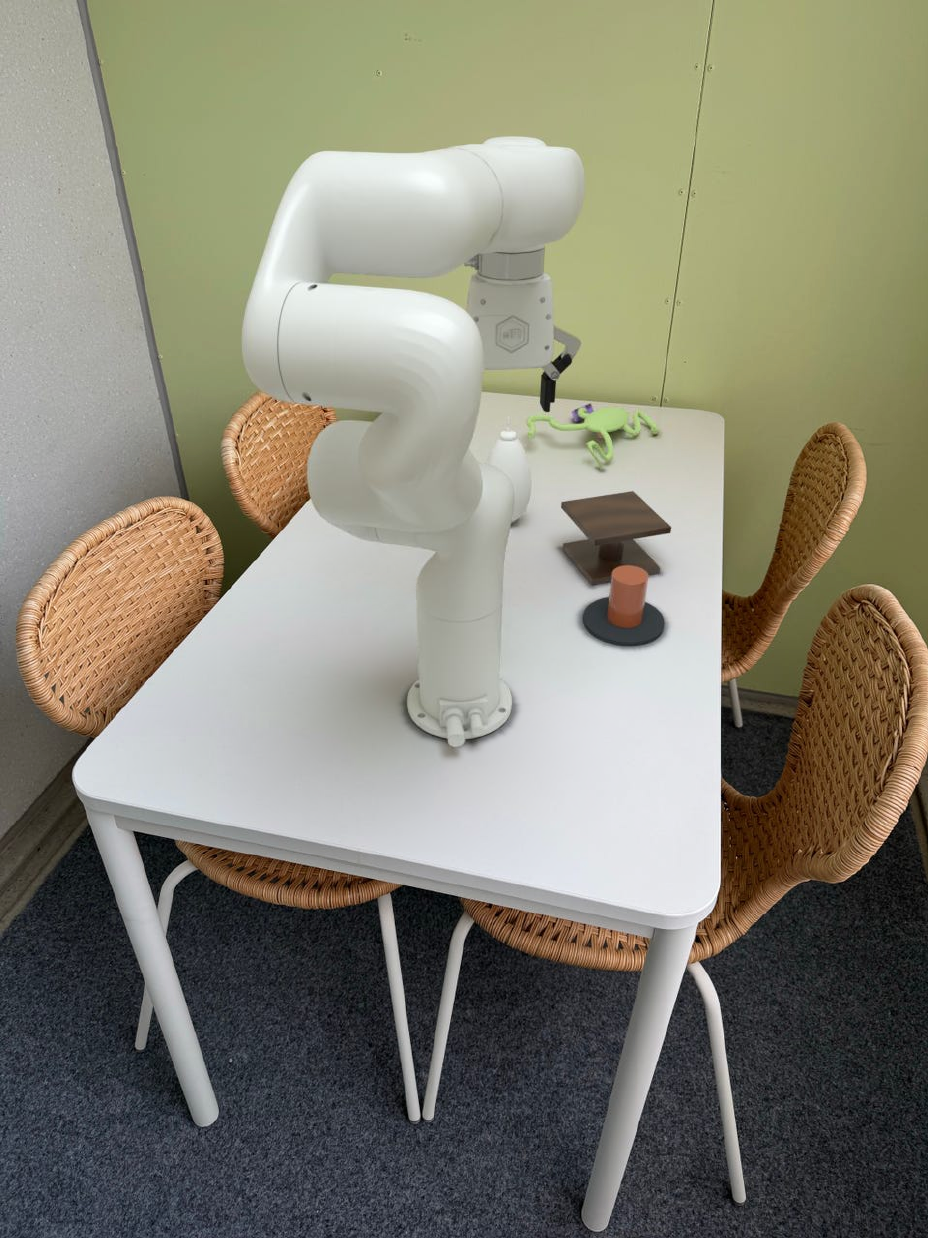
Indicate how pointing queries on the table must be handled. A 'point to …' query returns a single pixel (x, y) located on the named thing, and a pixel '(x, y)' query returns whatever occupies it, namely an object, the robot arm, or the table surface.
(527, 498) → the sauce bottle
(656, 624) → the coaster
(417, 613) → the robot arm
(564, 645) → the table surface
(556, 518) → the table surface
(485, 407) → the table surface
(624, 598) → the canister
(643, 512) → the stand
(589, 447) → the figurine
